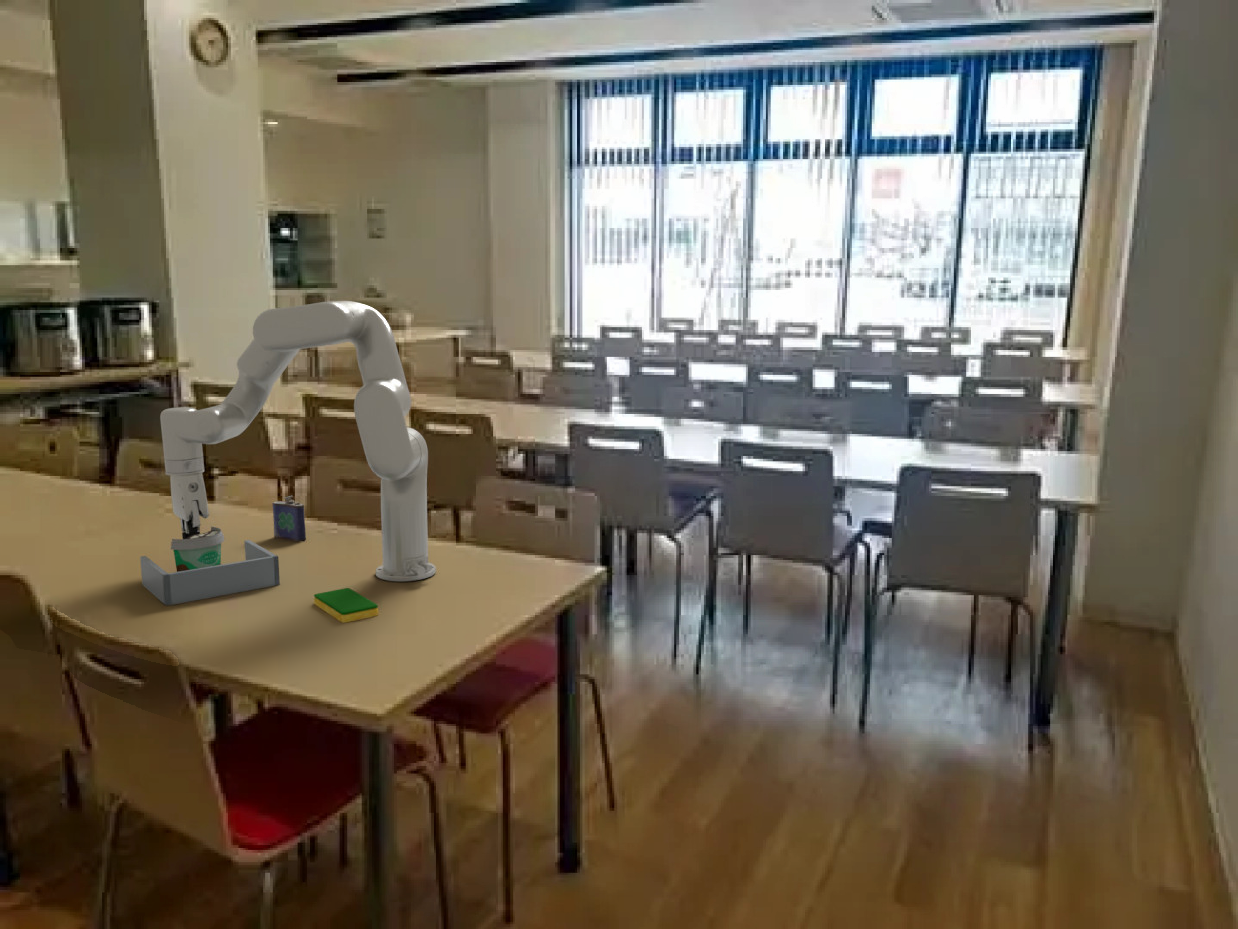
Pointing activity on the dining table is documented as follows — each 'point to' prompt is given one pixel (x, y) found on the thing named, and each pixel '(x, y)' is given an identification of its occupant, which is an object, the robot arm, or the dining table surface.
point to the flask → (289, 520)
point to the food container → (198, 550)
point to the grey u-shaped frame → (212, 577)
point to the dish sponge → (346, 605)
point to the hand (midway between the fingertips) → (192, 549)
